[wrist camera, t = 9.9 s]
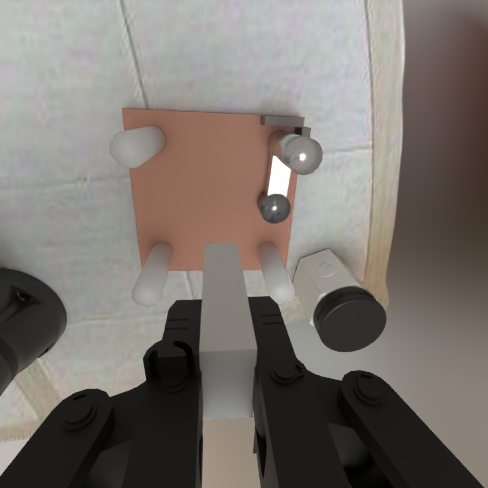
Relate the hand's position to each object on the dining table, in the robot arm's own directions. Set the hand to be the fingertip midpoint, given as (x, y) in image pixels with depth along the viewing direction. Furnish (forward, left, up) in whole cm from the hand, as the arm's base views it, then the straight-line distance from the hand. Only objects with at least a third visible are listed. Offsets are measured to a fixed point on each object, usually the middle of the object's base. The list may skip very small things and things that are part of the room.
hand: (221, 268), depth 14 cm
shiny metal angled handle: (+7, 0, -22) cm, 23 cm away
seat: (0, -3, -24) cm, 25 cm away
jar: (+16, -15, -25) cm, 33 cm away
